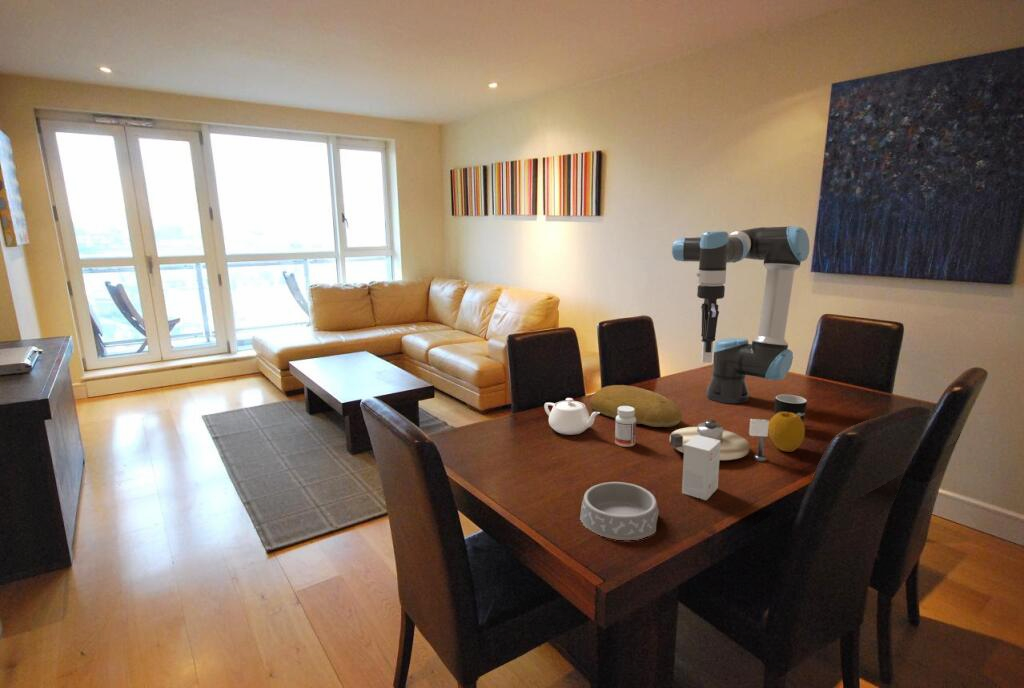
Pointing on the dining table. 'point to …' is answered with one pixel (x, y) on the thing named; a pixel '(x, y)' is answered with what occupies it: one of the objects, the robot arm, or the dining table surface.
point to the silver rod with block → (759, 429)
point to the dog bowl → (619, 511)
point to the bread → (637, 405)
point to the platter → (729, 446)
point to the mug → (791, 405)
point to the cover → (710, 430)
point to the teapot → (569, 417)
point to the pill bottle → (625, 426)
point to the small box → (701, 467)
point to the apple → (786, 431)
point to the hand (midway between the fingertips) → (706, 361)
